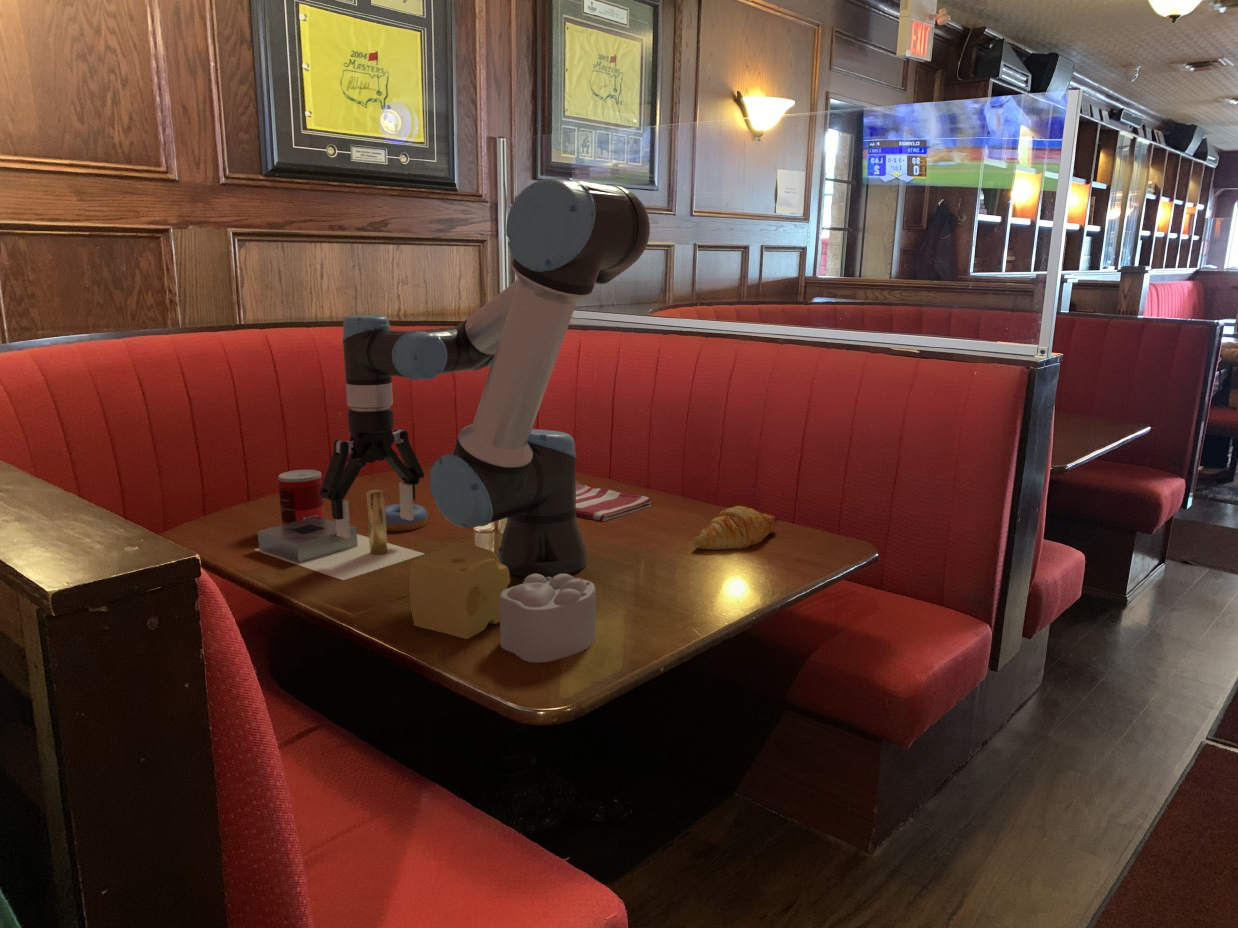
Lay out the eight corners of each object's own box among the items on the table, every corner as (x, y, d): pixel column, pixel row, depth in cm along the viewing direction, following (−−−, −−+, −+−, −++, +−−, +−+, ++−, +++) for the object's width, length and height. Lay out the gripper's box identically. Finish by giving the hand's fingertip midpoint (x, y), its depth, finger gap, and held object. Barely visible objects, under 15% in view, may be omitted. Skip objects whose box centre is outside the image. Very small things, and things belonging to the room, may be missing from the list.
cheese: (513, 616, 130) (512, 551, 128) (465, 643, 121) (462, 572, 119) (458, 603, 135) (456, 539, 133) (408, 627, 126) (404, 559, 124)
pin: (391, 551, 157) (387, 491, 155) (377, 556, 155) (373, 494, 153) (380, 548, 159) (376, 488, 157) (366, 552, 157) (362, 492, 155)
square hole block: (357, 546, 161) (356, 527, 160) (298, 563, 151) (297, 543, 151) (317, 534, 168) (316, 516, 167) (259, 549, 159) (257, 530, 158)
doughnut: (418, 515, 181) (415, 494, 180) (436, 530, 173) (433, 508, 172) (370, 527, 176) (367, 505, 175) (386, 543, 168) (383, 520, 167)
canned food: (331, 524, 176) (327, 469, 173) (314, 536, 168) (310, 479, 166) (294, 523, 176) (290, 468, 174) (275, 534, 169) (270, 478, 166)
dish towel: (572, 490, 205) (572, 479, 204) (653, 507, 190) (653, 495, 190) (519, 505, 192) (519, 493, 192) (601, 524, 178) (601, 511, 177)
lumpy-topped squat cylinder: (491, 642, 121) (489, 581, 119) (567, 618, 129) (566, 561, 127) (536, 667, 113) (535, 603, 111) (614, 640, 122) (614, 580, 120)
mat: (425, 555, 157) (425, 553, 157) (343, 582, 143) (343, 580, 143) (335, 529, 172) (335, 527, 172) (253, 551, 159) (253, 549, 159)
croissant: (706, 575, 158) (722, 542, 154) (671, 538, 164) (685, 505, 159) (783, 548, 171) (800, 517, 167) (749, 515, 177) (764, 484, 172)
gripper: (413, 397, 163) (417, 508, 168) (292, 414, 144) (301, 540, 149) (441, 401, 159) (445, 515, 164) (319, 419, 140) (328, 549, 144)
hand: (376, 527), depth 156 cm, fingers open, 13 cm apart
